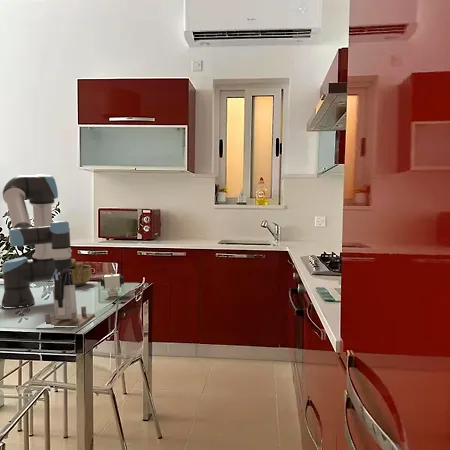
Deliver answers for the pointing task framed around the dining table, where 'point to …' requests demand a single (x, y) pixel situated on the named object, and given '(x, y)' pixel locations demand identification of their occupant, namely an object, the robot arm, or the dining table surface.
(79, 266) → the tan woven basket
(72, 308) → the supplement box
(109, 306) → the dining table surface
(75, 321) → the stub plate
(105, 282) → the pneumatic valve
